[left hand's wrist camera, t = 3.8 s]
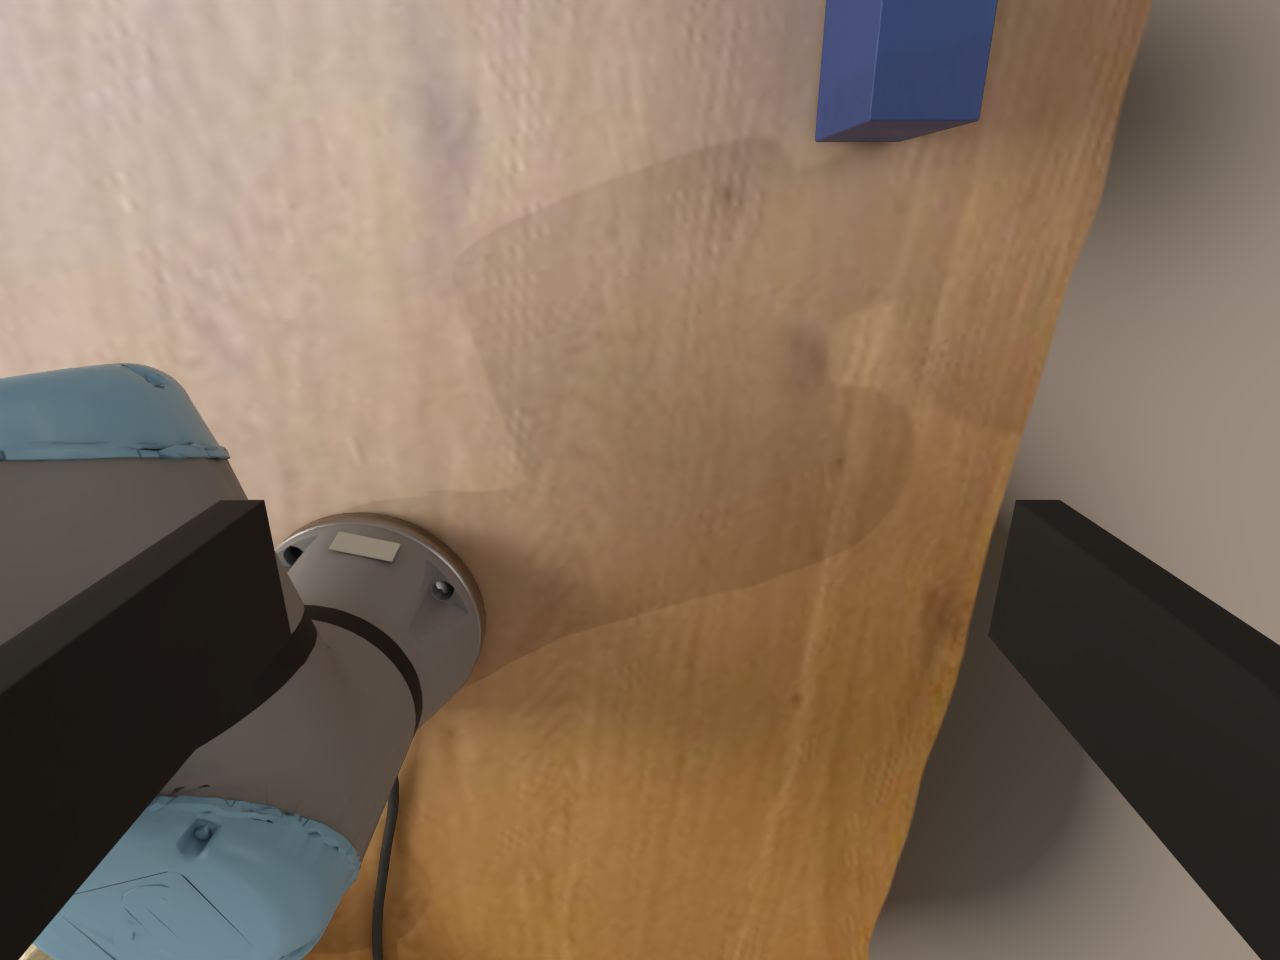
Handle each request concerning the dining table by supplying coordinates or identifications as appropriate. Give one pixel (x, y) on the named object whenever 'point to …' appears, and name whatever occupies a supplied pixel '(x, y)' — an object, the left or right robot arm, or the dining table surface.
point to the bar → (902, 67)
